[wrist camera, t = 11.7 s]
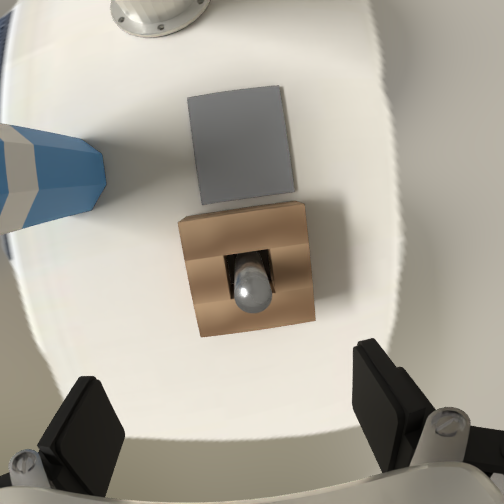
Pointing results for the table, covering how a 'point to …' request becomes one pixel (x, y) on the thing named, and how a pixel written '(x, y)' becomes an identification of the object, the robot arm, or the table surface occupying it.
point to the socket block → (246, 240)
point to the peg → (251, 283)
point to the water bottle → (45, 177)
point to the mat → (240, 144)
